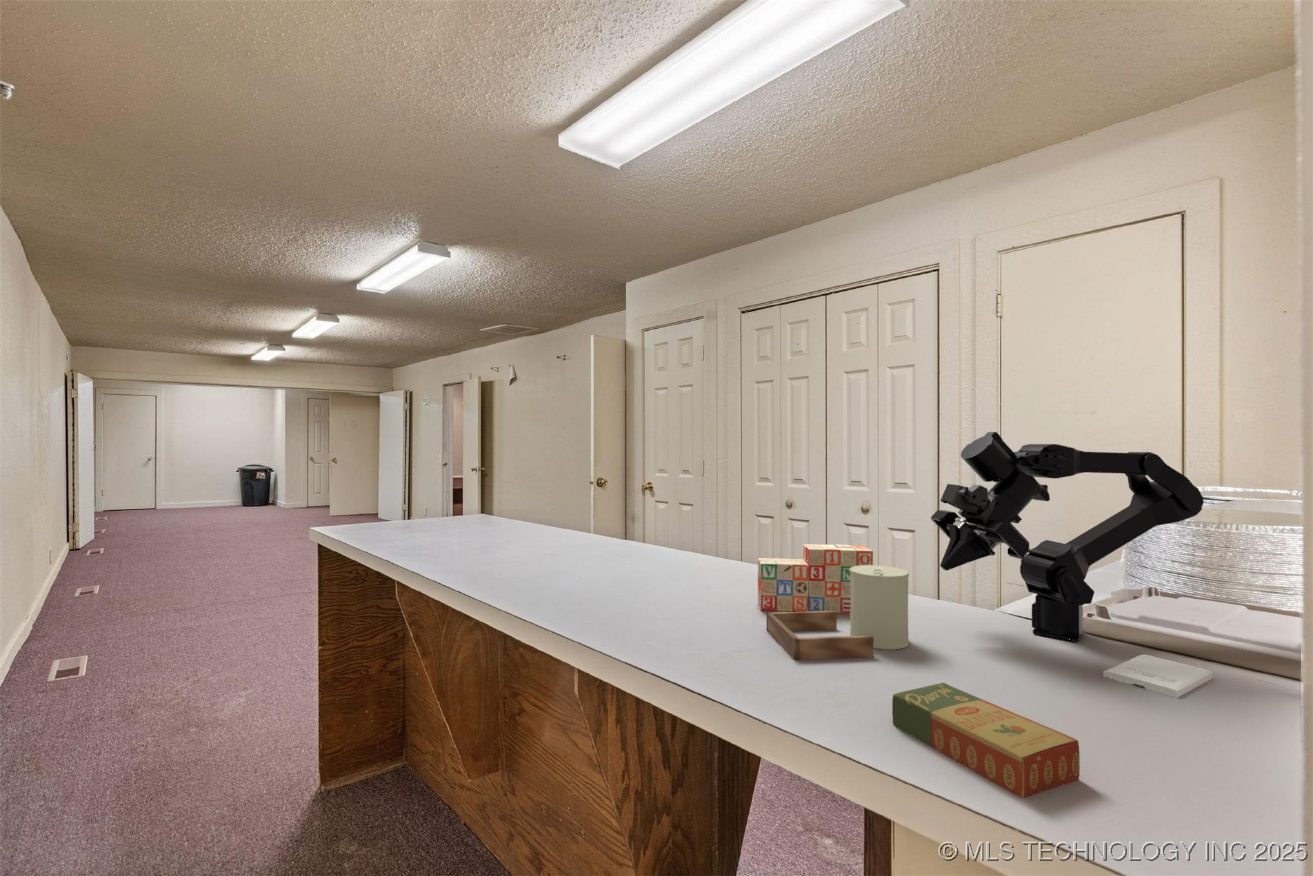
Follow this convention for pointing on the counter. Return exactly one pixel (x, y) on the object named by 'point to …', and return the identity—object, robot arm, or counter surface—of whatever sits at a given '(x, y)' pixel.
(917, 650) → the counter surface
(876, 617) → the can
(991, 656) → the counter surface
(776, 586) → the stack of blocks
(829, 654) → the walnut bay
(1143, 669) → the external hard drive
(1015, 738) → the carton
